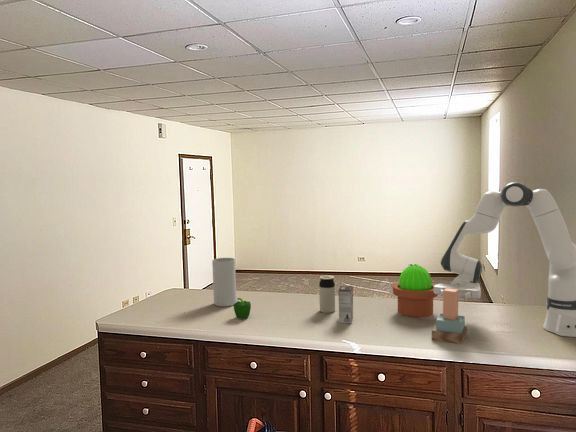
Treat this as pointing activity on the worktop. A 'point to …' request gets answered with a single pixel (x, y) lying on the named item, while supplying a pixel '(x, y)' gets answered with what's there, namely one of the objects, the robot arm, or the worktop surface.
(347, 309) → the coffee box
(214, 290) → the cylinder vase
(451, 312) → the terracotta tall block
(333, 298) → the travel mug
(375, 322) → the worktop surface
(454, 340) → the walnut base block
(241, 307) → the bell pepper
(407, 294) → the potted cactus
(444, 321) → the grey-teal top block
